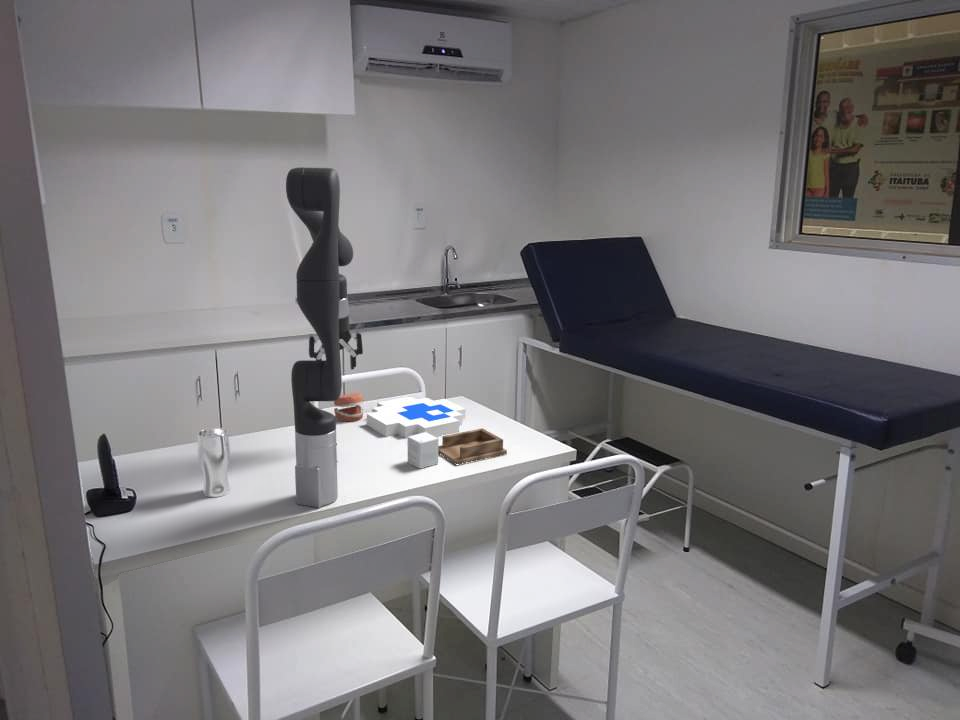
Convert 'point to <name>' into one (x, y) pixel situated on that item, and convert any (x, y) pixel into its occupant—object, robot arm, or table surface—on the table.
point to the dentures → (349, 412)
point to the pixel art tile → (416, 417)
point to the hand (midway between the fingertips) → (336, 369)
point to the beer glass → (214, 460)
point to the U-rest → (471, 446)
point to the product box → (422, 450)
